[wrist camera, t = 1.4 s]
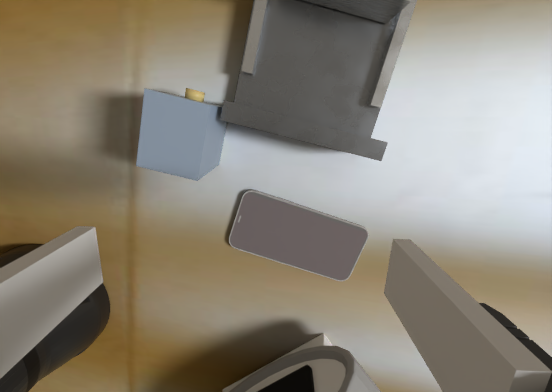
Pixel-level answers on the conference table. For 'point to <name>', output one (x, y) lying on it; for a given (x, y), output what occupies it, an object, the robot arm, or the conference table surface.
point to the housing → (180, 134)
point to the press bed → (316, 74)
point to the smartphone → (297, 235)
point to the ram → (366, 7)
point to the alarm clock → (309, 372)
